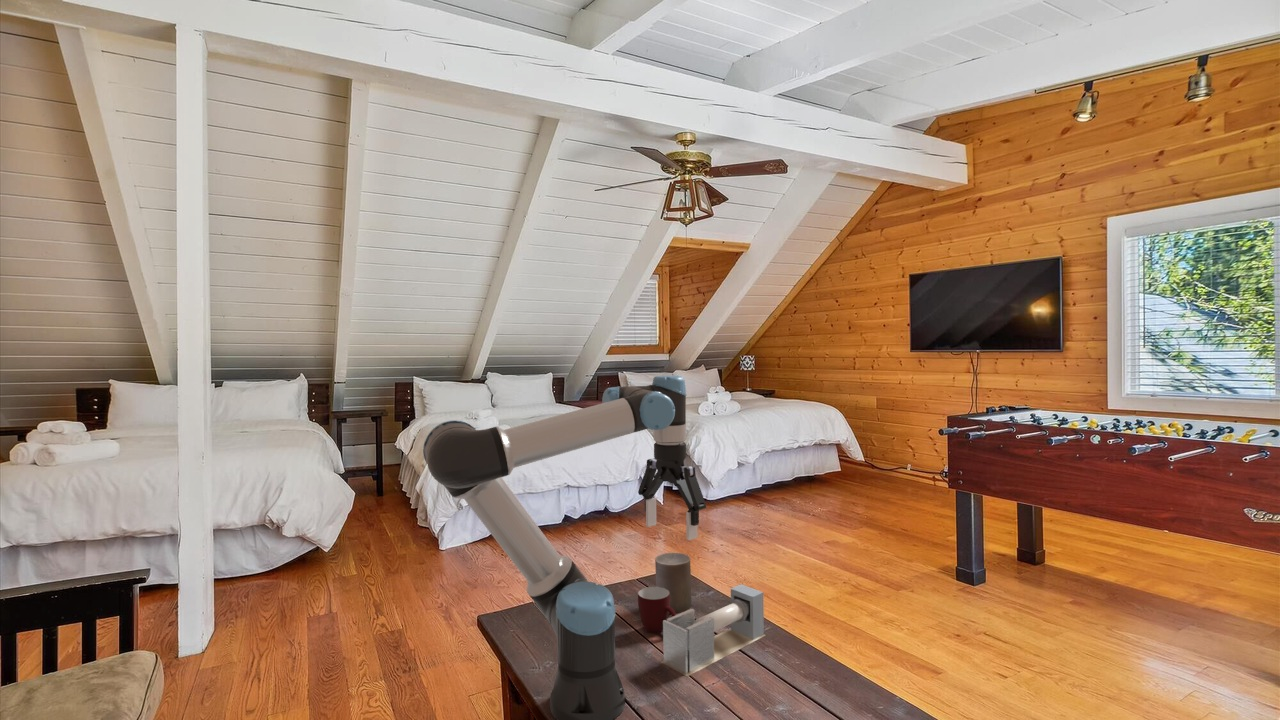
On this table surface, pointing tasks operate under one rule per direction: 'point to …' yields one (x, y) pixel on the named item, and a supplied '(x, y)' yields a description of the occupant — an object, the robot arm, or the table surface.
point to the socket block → (755, 620)
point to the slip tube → (729, 614)
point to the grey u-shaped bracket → (688, 642)
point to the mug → (654, 608)
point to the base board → (725, 646)
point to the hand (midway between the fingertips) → (671, 532)
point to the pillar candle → (675, 579)
